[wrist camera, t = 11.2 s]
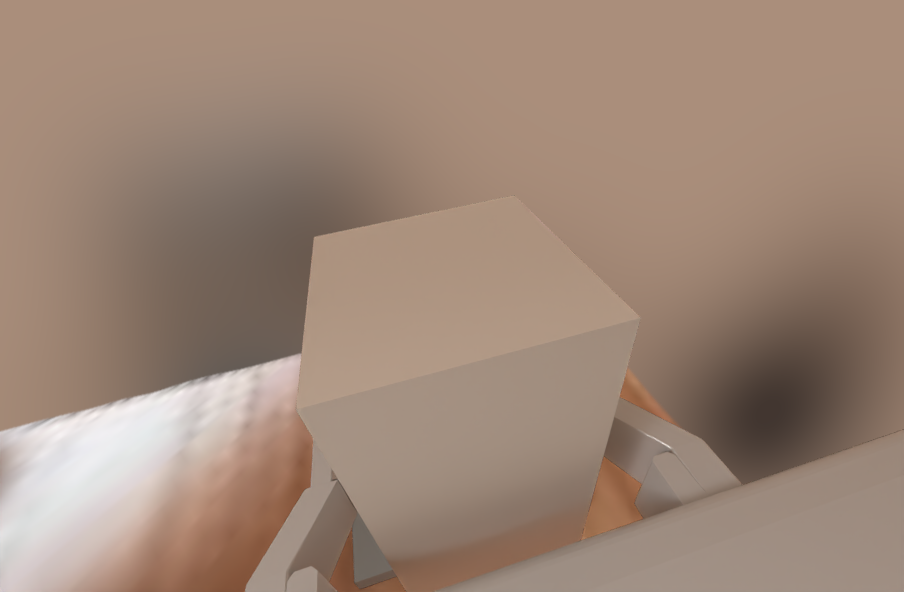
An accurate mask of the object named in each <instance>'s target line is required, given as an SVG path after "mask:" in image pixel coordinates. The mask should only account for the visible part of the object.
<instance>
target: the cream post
mask: <svg viewBox="0 0 904 592" xmlns="http://www.w3.org/2000/svg"><path fill="white" fill-rule="evenodd" d="M640 319H641V317H640V316H639V315H638V314H637V313H636V312H635V311H633V310H632V309H631V308H630V307H629V306H628V305H627V304H626V303H625V302H624V301H623V300H622V299H621V298H620V297H619V296H618V295H617V294H616V293H615V292H614V291H613V290H612V289H611V288H610V287H609V286H608V285H607V284H606V283H605V282H604V281H602V280H601V279H600V278H599V277H598V276H597V275H596V274H595V273H594V272H593V271H592V270H591V269H590V268H589V267H588V266H587V265H586V264H585V263H584V262H583V261H581V259H580V258H579V257H578V256H577V255H576V254H575V253H574V252H572V251H571V250H570V249H569V248H568V247H567V246H566V245H565V244H564V243H563V242H562V241H561V240H560V239H559V238H558V237H557V236H556V235H555V234H554V233H553V232H552V231H551V230H550V229H549V228H548V227H547V226H546V225H545V224H543V223H542V222H541V221H540V220H539V219H538V218H537V217H536V216H535V215H534V214H533V213H532V212H531V211H530V210H529V209H528V208H527V207H526V206H525V205H524V204H523V203H522V202H521V201H520V200H519V199H518V198H517V197H516V196H515V195H513V196H508V197H504V198H499V199H494V200H489V201H484V202H480V203H475V204H470V205H465V206H460V207H456V208H451V209H446V210H442V211H437V212H432V213H427V214H423V215H417V216H413V217H408V218H403V219H398V220H393V221H389V222H383V223H379V224H374V225H369V226H364V227H359V228H355V229H350V230H345V231H341V232H336V233H331V234H326V235H322V236H317V237H314V243H313V252H312V262H311V272H310V281H309V290H308V299H307V309H306V319H305V327H304V337H303V346H302V355H301V365H300V374H299V383H298V393H297V402H296V411H297V412H298V414H299V416H300V417H301V419H302V421H303V422H304V424H305V426H306V427H307V429H308V431H309V432H310V434H311V436H312V437H313V439H314V441H315V442H316V444H317V445H318V447H319V449H320V450H321V452H322V454H323V455H324V457H325V459H326V460H327V462H328V464H329V465H330V467H331V469H332V470H333V472H334V474H335V475H336V477H337V478H338V480H339V482H340V483H341V485H342V487H343V488H344V490H345V492H346V493H347V495H348V497H349V498H350V500H351V502H352V503H353V505H354V507H355V508H356V510H357V512H358V513H359V515H360V516H361V518H362V520H363V521H364V523H365V525H366V526H367V528H368V530H369V531H370V533H371V535H372V536H373V538H374V540H375V541H376V543H377V545H378V546H379V548H380V549H381V551H382V553H383V554H384V556H385V558H386V559H387V561H388V563H389V564H390V566H391V568H392V569H393V571H394V573H395V574H396V576H397V578H398V579H399V581H400V583H401V584H402V586H403V587H404V589H405V591H406V592H433V591H436V590H439V589H442V588H445V587H448V586H451V585H453V584H456V583H459V582H462V581H465V580H468V579H471V578H474V577H477V576H480V575H482V574H485V573H488V572H491V571H494V570H497V569H500V568H503V567H506V566H509V565H511V564H514V563H517V562H520V561H523V560H526V559H529V558H532V557H535V556H538V555H540V554H543V553H546V552H549V551H552V550H555V549H558V548H561V547H564V546H567V545H569V544H572V543H575V542H578V541H581V537H582V534H583V530H584V526H585V523H586V519H587V515H588V512H589V508H590V504H591V500H592V497H593V493H594V489H595V486H596V482H597V478H598V475H599V471H600V467H601V463H602V460H603V456H604V452H605V449H606V445H607V441H608V438H609V434H610V430H611V427H612V423H613V419H614V415H615V412H616V408H617V404H618V401H619V397H620V393H621V390H622V386H623V382H624V379H625V375H626V371H627V367H628V364H629V360H630V356H631V352H632V349H633V345H634V342H635V338H636V334H637V330H638V327H639V323H640Z"/></svg>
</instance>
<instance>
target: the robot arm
mask: <svg viewBox="0 0 904 592" xmlns="http://www.w3.org/2000/svg"><path fill="white" fill-rule="evenodd" d="M604 457H606V458H607V459H608V460H610V461H611V462H613V463H614V464H615V465H617V466H618V467H619V468H621V469H622V470H623V471H625V472H626V473H627V474H629V475H630V476H632V477H633V478H634V479H636V480H637V481H638V482H640V483H641V484H642V485H641V487H640V490H639V492H638V494H637V497H636V500H635V503H634V504H635V506H636V507H637V509H638V511H639V512H640V514H641V516H642V517H643V519H642V520H639V521H636V522H633V523H630V524H627V525H625V526H622V527H619V528H616V529H613V530H610V531H607V532H604V533H601V534H598V535H596V536H593V537H590V538H587V539H584V540H581V541H578V542H575V543H572V544H569V545H567V546H564V547H561V548H558V549H555V550H552V551H549V552H546V553H543V554H540V555H538V556H535V557H532V558H529V559H526V560H523V561H520V562H517V563H514V564H511V565H509V566H506V567H503V568H500V569H497V570H494V571H491V572H488V573H485V574H482V575H480V576H477V577H474V578H471V579H468V580H465V581H462V582H459V583H456V584H453V585H451V586H448V587H445V588H442V589H439V590H436V591H433V592H904V429H903V430H900V431H897V432H894V433H892V434H889V435H886V436H883V437H880V438H877V439H874V440H871V441H868V442H865V443H862V444H860V445H857V446H854V447H851V448H848V449H845V450H843V451H839V452H837V453H833V454H831V455H828V456H825V457H822V458H819V459H816V460H813V461H810V462H807V463H804V464H802V465H799V466H796V467H793V468H790V469H787V470H785V471H781V472H778V473H776V474H772V475H770V476H767V477H764V478H761V479H758V480H755V481H752V482H749V483H746V484H743V485H742V484H741V483H740V481H739V480H738V479H737V478H736V477H735V476H734V475H733V473H731V471H730V470H729V469H728V468H727V467H726V466H725V464H724V463H723V462H722V461H721V460H720V459H719V458H718V456H717V455H716V454H715V453H714V452H713V451H712V450H711V448H710V447H709V446H708V445H707V444H706V443H705V442H704V441H703V439H701V438H699V437H697V436H695V435H693V434H691V433H689V432H687V431H685V430H683V429H681V428H679V427H677V426H675V425H673V424H672V423H670V422H668V421H666V420H664V419H662V418H660V417H658V416H656V415H654V414H652V413H650V412H648V411H646V410H644V409H642V408H640V407H638V406H636V405H634V404H632V403H630V402H629V401H627V400H625V399H623V398H621V397H619V401H618V404H617V408H616V412H615V415H614V419H613V423H612V427H611V430H610V434H609V438H608V441H607V445H606V449H605V452H604ZM356 516H357V510H356V508H355V507H354V505H353V503H352V502H351V500H350V498H349V497H348V495H347V493H346V492H345V490H344V488H343V487H342V485H341V483H340V482H339V480H338V478H337V477H336V475H335V474H334V472H333V470H332V469H331V467H330V465H329V464H328V462H327V460H326V459H325V457H324V455H323V454H322V452H321V450H320V449H319V447H318V445H317V444H316V442H315V441H314V439H313V455H312V472H311V487H310V488H307V489H305V490H304V492H303V493H302V495H301V497H300V498H299V500H298V502H297V503H296V505H295V506H294V508H293V510H292V511H291V513H290V515H289V516H288V518H287V519H286V521H285V523H284V524H283V526H282V528H281V529H280V531H279V532H278V534H277V536H276V537H275V539H274V541H273V542H272V544H271V545H270V547H269V549H268V550H267V552H266V554H265V555H264V557H263V559H262V560H261V562H260V563H259V565H258V567H257V568H256V570H255V572H254V573H253V575H252V576H251V578H250V580H249V581H248V583H247V585H246V590H245V592H338V591H337V590H336V589H335V588H334V587H333V586H332V585H331V584H330V583H329V581H330V579H331V576H332V574H333V572H334V569H335V567H336V564H337V562H338V559H339V557H340V555H341V552H342V550H343V547H344V545H345V542H346V540H347V537H348V535H349V533H350V530H351V528H352V525H353V523H354V520H355V518H356Z"/></svg>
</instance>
